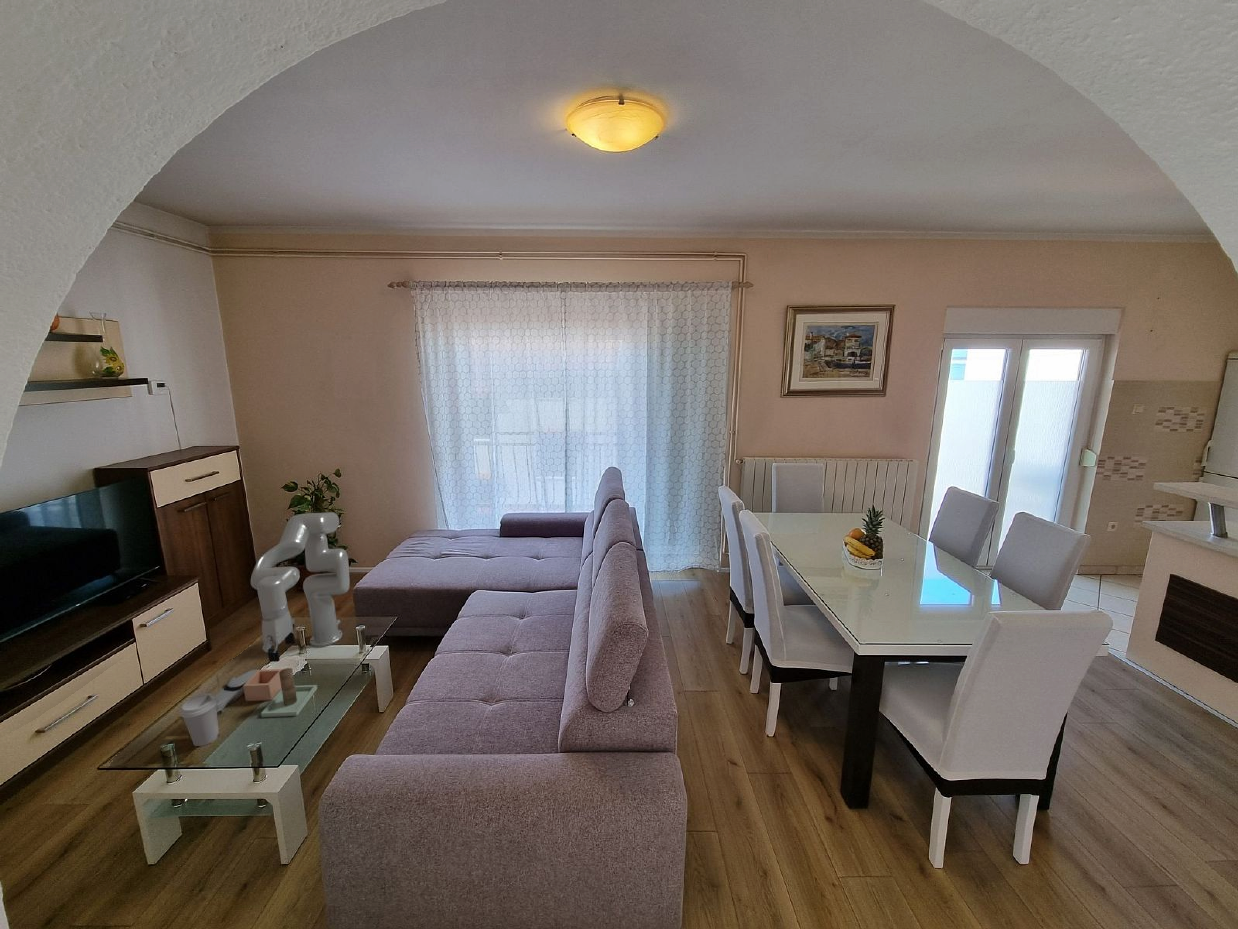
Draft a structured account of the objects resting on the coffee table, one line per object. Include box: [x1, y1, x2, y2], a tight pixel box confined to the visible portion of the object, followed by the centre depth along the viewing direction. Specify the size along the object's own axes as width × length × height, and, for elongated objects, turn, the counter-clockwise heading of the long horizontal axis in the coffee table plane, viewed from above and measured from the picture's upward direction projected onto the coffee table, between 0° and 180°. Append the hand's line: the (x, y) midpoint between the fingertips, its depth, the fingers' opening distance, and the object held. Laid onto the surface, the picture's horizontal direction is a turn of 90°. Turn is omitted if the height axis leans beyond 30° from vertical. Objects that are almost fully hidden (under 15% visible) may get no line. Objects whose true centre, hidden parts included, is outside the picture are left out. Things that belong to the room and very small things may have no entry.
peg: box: [279, 667, 297, 706], centre depth 177 cm, size 4×4×13 cm
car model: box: [214, 669, 259, 714], centre depth 181 cm, size 11×24×5 cm, turn 172°
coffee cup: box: [179, 692, 220, 747], centre depth 161 cm, size 10×10×15 cm
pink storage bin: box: [243, 668, 284, 702], centre depth 183 cm, size 9×9×8 cm
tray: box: [260, 684, 318, 718], centre depth 179 cm, size 14×12×2 cm
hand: (282, 652), depth 174 cm, fingers open, 9 cm apart
